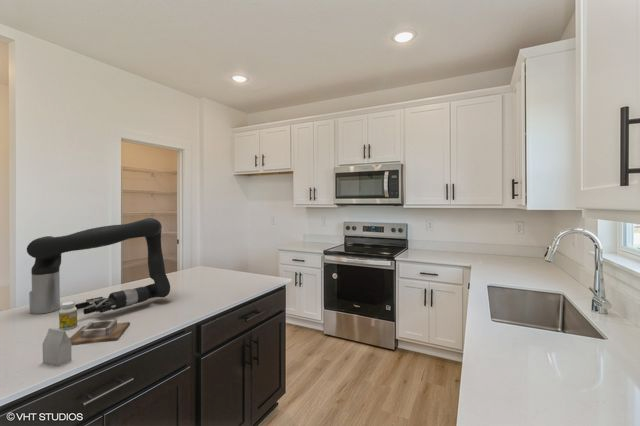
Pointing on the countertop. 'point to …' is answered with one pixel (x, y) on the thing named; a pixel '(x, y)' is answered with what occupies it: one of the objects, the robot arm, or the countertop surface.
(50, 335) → the grey gable-top carton
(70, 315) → the supplement bottle
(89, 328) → the holder board
